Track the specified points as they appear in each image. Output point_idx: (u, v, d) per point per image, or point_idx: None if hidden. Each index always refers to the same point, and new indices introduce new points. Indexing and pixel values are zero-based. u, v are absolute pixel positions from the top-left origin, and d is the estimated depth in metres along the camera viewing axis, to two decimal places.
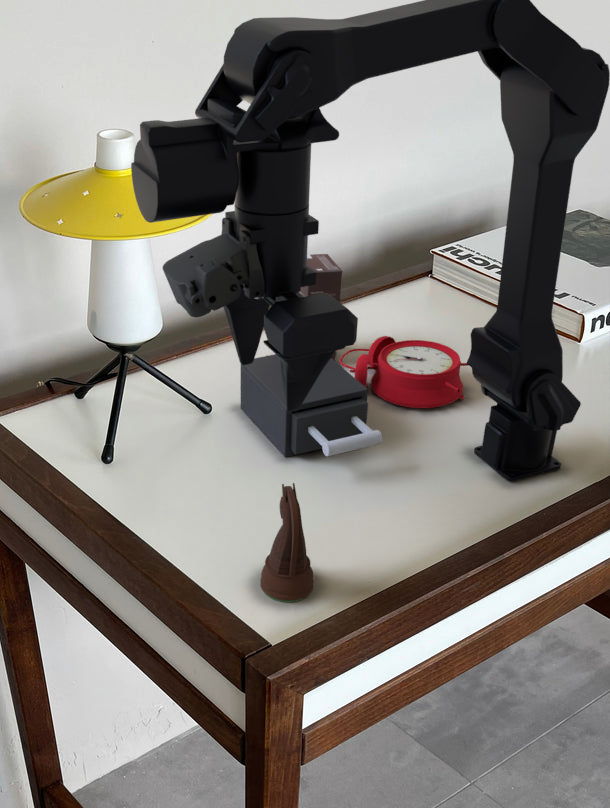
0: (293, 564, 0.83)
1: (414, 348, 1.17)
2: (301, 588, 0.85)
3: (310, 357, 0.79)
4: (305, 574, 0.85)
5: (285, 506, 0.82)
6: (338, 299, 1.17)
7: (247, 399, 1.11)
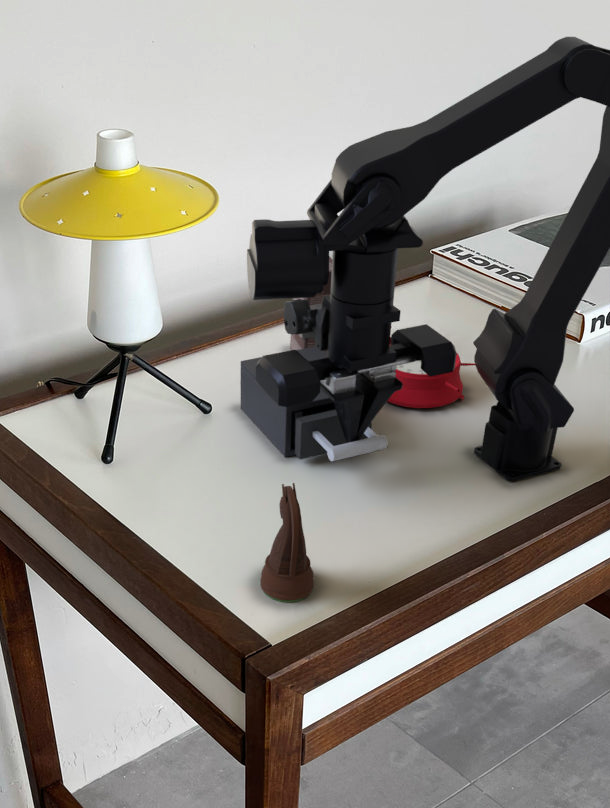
0: (293, 564, 0.83)
1: None
2: (301, 588, 0.85)
3: None
4: (305, 574, 0.85)
5: (285, 506, 0.82)
6: None
7: (247, 399, 1.11)
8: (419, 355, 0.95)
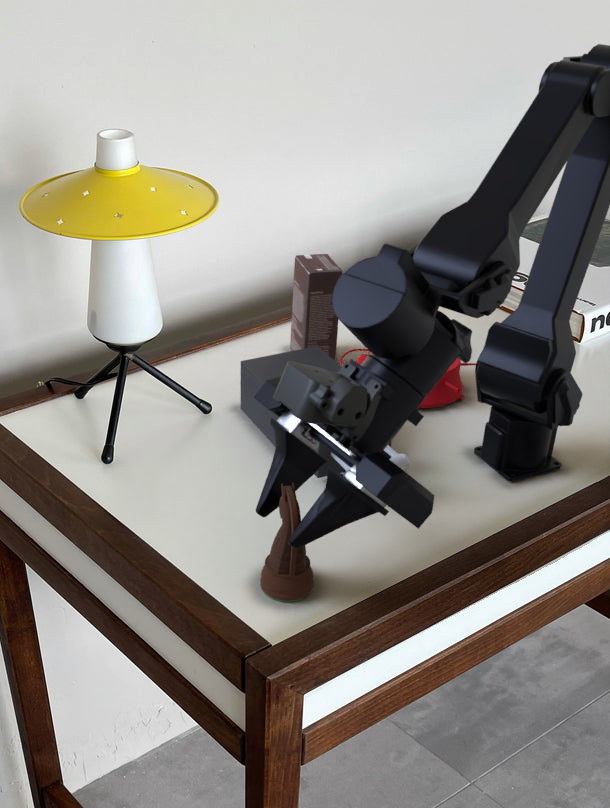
0: (293, 564, 0.83)
1: None
2: (301, 588, 0.85)
3: (345, 507, 0.80)
4: (305, 574, 0.85)
5: (284, 506, 0.82)
6: None
7: (247, 399, 1.11)
8: None
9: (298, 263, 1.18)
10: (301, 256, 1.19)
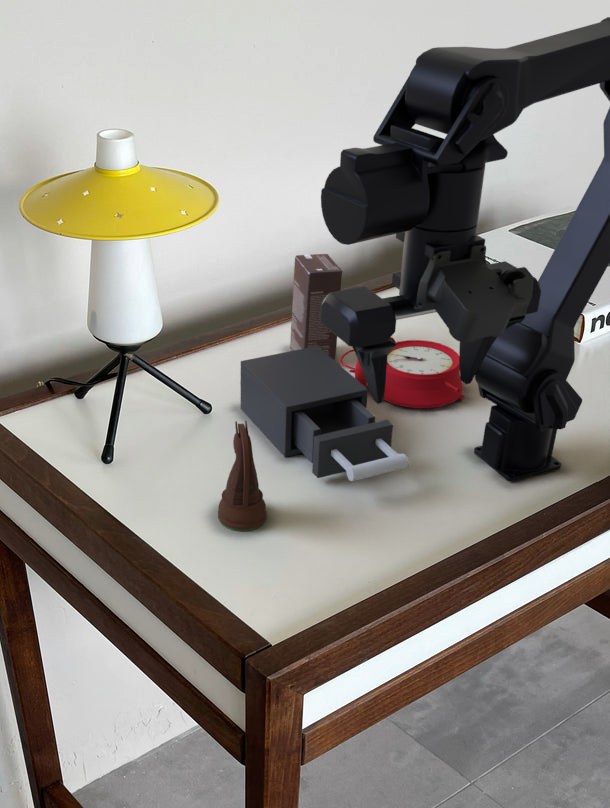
0: (245, 495, 0.92)
1: (414, 348, 1.17)
2: (254, 518, 0.93)
3: None
4: (257, 505, 0.93)
5: (237, 441, 0.90)
6: None
7: (247, 399, 1.11)
8: None
9: (298, 263, 1.18)
10: (301, 256, 1.19)
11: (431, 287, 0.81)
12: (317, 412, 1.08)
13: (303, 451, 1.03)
